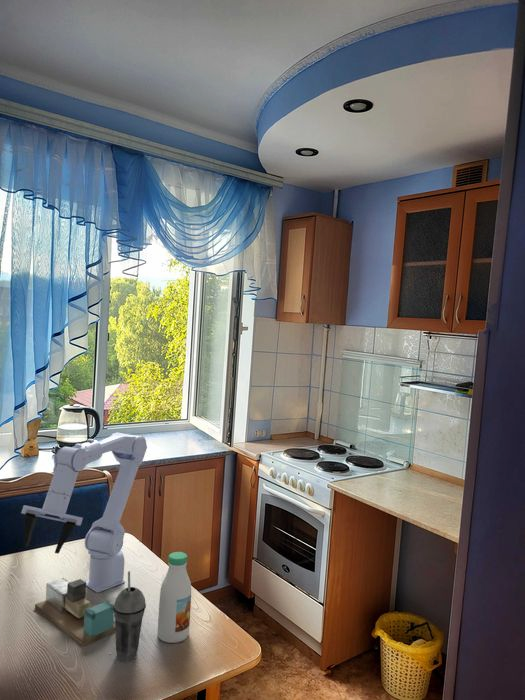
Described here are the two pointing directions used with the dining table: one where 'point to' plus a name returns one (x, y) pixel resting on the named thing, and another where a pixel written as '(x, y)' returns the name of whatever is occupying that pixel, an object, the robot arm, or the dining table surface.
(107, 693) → the dining table surface
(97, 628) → the socket
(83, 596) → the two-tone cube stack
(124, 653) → the beverage cup
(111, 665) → the dining table surface
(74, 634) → the base board
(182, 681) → the dining table surface
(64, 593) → the sleeve
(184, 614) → the milk bottle
